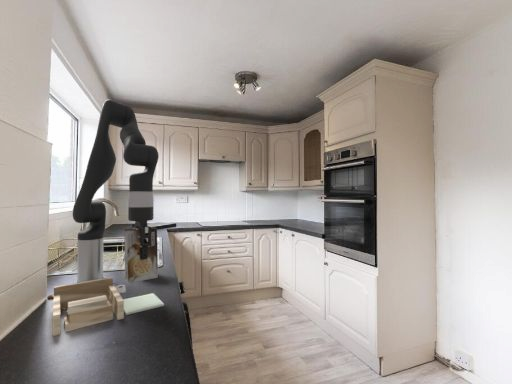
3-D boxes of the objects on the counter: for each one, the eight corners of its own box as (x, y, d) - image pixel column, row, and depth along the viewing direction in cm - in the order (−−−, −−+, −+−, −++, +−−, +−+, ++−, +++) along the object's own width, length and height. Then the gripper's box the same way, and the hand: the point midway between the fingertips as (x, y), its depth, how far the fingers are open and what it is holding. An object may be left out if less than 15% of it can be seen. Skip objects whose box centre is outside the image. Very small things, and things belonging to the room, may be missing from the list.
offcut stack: (63, 325, 72) (64, 302, 72) (109, 313, 79) (109, 293, 79) (65, 332, 68) (65, 309, 68) (113, 320, 75) (113, 298, 75)
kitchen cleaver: (41, 304, 85) (50, 292, 94) (41, 308, 85) (50, 295, 94) (126, 293, 95) (127, 283, 104) (126, 296, 95) (127, 286, 104)
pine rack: (53, 309, 82) (53, 286, 82) (112, 297, 92) (112, 277, 92) (52, 336, 66) (52, 307, 66) (123, 318, 76) (123, 293, 76)
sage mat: (118, 302, 87) (118, 300, 87) (153, 294, 94) (153, 293, 94) (126, 315, 78) (126, 312, 78) (164, 305, 84) (164, 303, 84)
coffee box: (153, 273, 91) (153, 226, 92) (158, 278, 86) (158, 228, 86) (123, 278, 86) (124, 228, 87) (126, 283, 81) (126, 230, 81)
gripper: (159, 206, 83) (159, 259, 83) (147, 205, 95) (147, 252, 94) (133, 206, 79) (133, 263, 78) (124, 205, 90) (123, 255, 90)
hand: (140, 257), depth 86 cm, fingers closed on coffee box, 6 cm apart
